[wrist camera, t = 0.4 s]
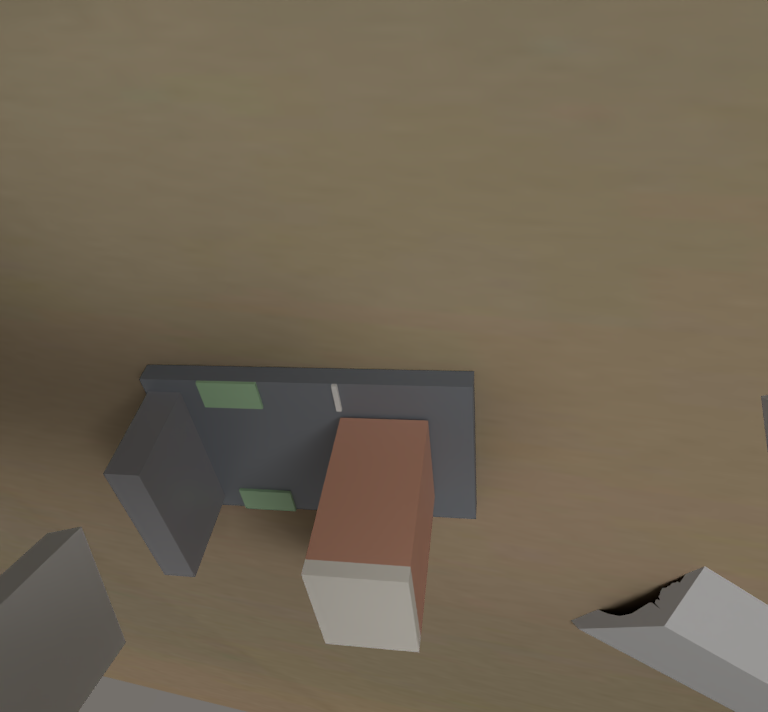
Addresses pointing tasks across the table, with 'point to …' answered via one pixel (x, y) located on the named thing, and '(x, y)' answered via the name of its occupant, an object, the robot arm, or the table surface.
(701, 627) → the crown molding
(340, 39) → the table surface
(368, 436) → the orange box with lid
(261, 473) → the base
